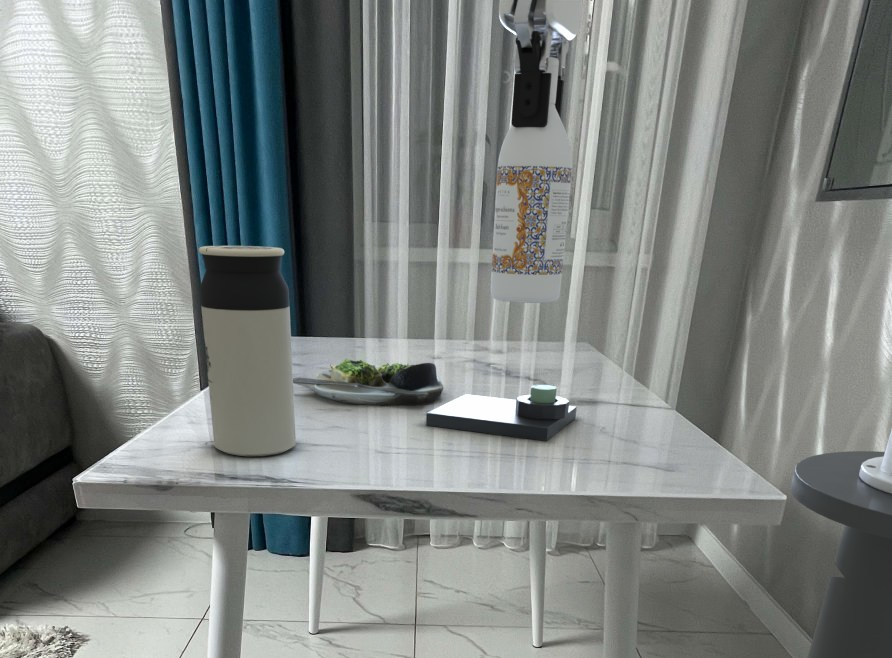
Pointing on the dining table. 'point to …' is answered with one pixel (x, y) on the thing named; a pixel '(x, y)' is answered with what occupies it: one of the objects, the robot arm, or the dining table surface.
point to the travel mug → (248, 349)
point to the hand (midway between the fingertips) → (535, 127)
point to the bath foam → (532, 209)
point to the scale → (504, 416)
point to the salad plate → (377, 383)
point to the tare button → (543, 393)
